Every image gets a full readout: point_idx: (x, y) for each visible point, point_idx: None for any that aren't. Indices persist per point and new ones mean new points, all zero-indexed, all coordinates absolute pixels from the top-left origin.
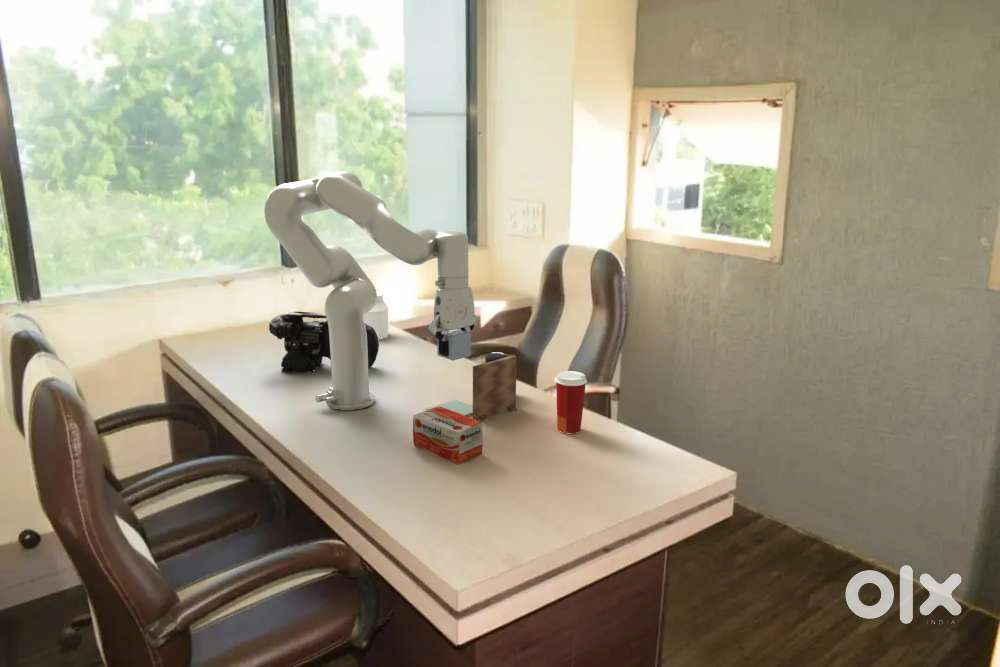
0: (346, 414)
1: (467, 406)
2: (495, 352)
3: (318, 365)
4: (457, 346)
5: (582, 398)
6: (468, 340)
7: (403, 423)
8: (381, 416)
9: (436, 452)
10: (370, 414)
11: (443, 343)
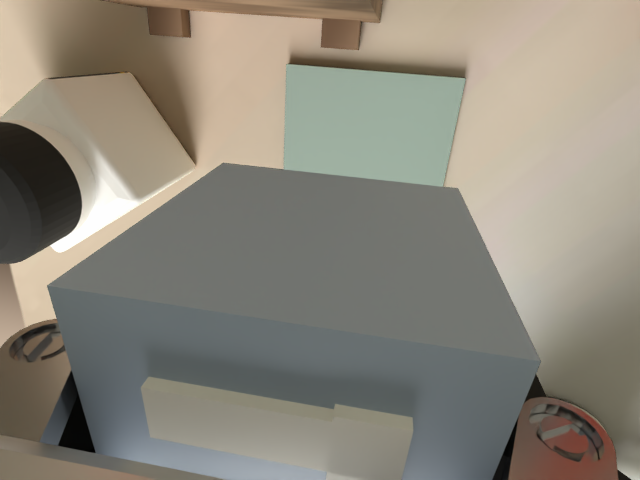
0: (626, 405)
1: (301, 137)
2: None
3: None
4: (397, 238)
5: None
6: (177, 232)
7: (597, 215)
8: (577, 317)
9: None
10: (581, 353)
11: (530, 392)
